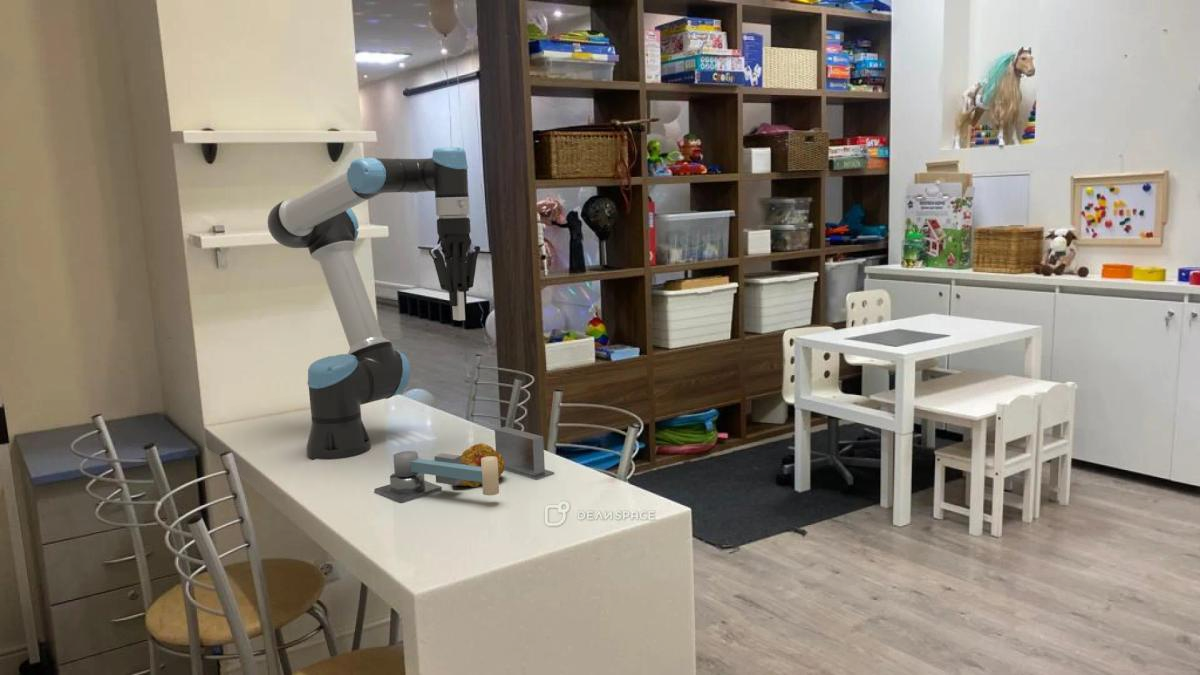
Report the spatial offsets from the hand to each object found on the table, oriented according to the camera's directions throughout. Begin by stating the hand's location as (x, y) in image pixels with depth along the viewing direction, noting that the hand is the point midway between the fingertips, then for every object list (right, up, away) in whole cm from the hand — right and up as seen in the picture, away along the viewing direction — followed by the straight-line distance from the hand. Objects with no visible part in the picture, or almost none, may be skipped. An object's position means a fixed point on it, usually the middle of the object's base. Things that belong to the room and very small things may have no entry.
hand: (459, 319), depth 205 cm
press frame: (+4, -35, -16) cm, 39 cm away
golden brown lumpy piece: (+10, -35, -15) cm, 40 cm away
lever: (+2, -34, -24) cm, 42 cm away
